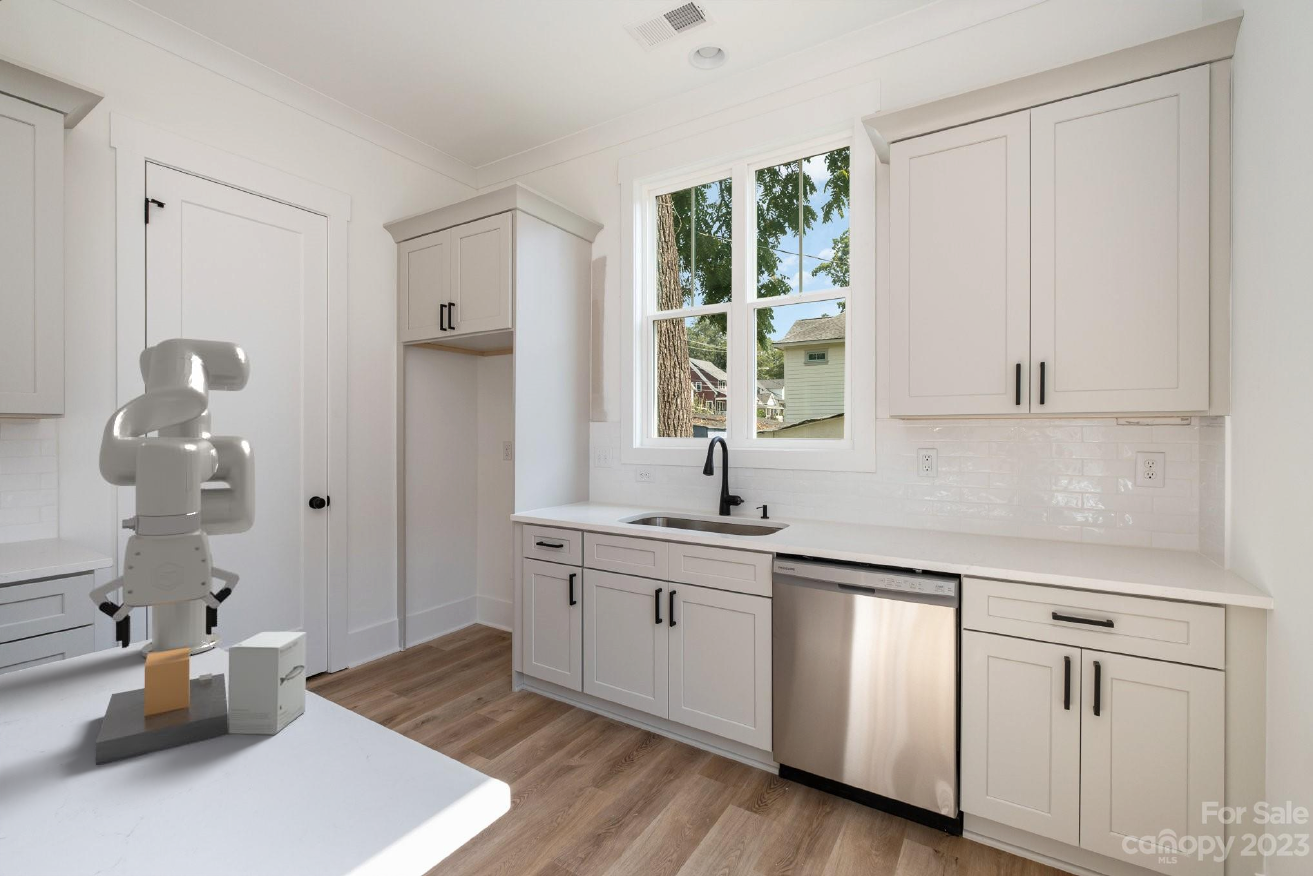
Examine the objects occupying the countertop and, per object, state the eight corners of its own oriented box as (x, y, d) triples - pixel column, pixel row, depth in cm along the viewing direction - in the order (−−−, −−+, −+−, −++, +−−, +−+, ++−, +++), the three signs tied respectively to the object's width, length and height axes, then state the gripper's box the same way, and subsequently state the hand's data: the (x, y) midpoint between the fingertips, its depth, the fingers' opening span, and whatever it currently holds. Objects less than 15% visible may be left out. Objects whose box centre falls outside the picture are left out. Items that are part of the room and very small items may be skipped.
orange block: (148, 707, 93) (148, 650, 93) (189, 699, 96) (189, 643, 96) (144, 728, 86) (144, 666, 86) (188, 719, 89) (189, 659, 89)
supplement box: (276, 735, 87) (277, 647, 87) (225, 734, 87) (226, 646, 87) (307, 712, 95) (308, 631, 94) (260, 711, 95) (261, 630, 95)
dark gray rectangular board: (111, 713, 93) (112, 689, 93) (224, 691, 102) (224, 668, 101) (95, 766, 79) (95, 736, 79) (227, 734, 87) (227, 708, 87)
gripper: (85, 534, 82) (85, 659, 83) (240, 524, 92) (240, 635, 93) (93, 525, 88) (93, 641, 89) (238, 516, 98) (237, 620, 99)
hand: (168, 638), depth 91 cm, fingers open, 9 cm apart
